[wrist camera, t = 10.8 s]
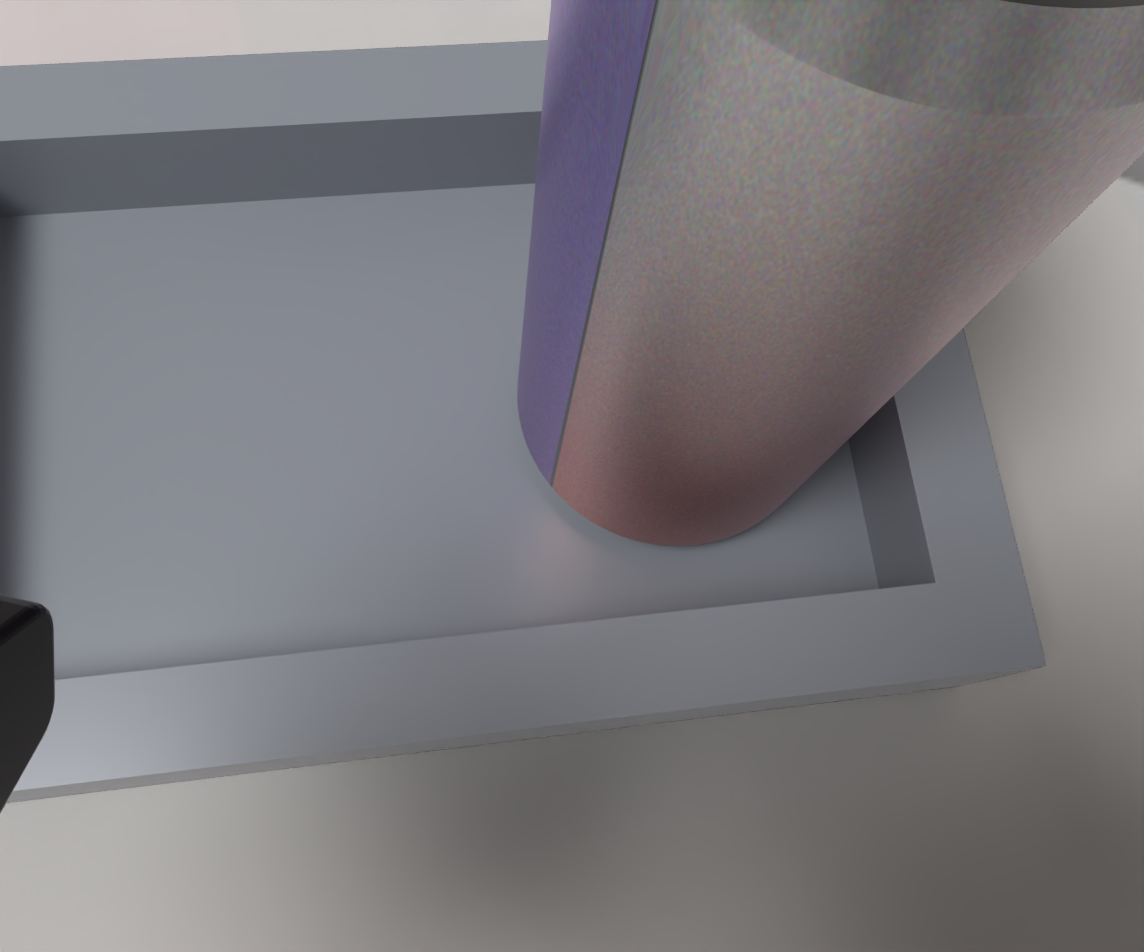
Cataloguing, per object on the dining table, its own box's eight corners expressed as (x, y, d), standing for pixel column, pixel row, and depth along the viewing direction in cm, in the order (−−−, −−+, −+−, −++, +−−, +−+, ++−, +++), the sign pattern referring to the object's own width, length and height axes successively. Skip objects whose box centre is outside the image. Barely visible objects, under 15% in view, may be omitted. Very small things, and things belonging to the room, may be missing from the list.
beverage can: (455, 379, 21) (403, -488, 7) (682, 226, 23) (1030, -756, 8) (643, 616, 20) (1043, 172, 6) (868, 439, 22) (1635, -269, 7)
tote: (-102, 816, 19) (-226, 820, 16) (-68, 180, 23) (-163, 73, 19) (957, 686, 21) (1046, 665, 18) (833, 127, 25) (888, 24, 22)
